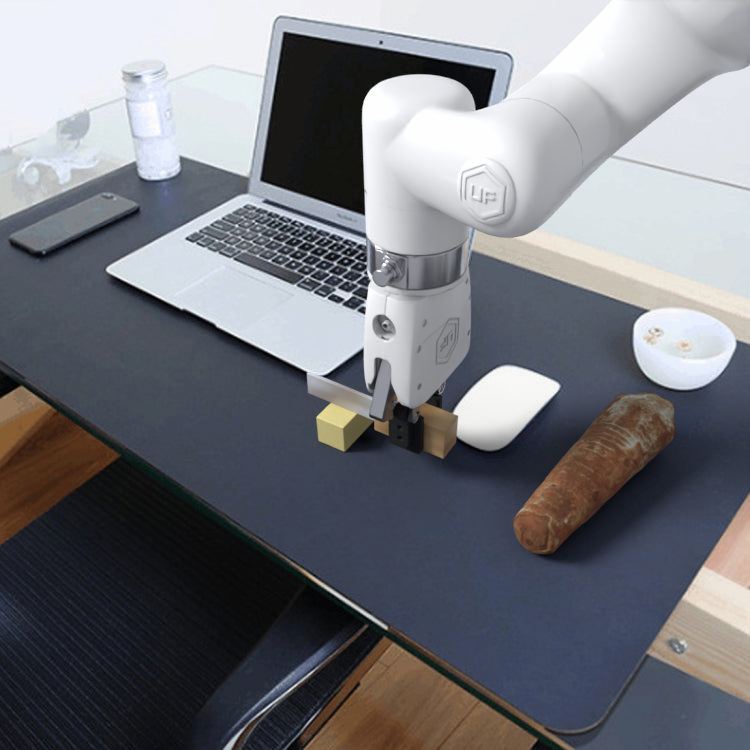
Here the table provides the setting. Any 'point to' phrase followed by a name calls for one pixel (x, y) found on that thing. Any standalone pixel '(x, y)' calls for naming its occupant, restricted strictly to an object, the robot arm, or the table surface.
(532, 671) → the table surface
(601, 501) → the bread
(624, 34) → the robot arm
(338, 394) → the knife
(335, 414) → the butter
